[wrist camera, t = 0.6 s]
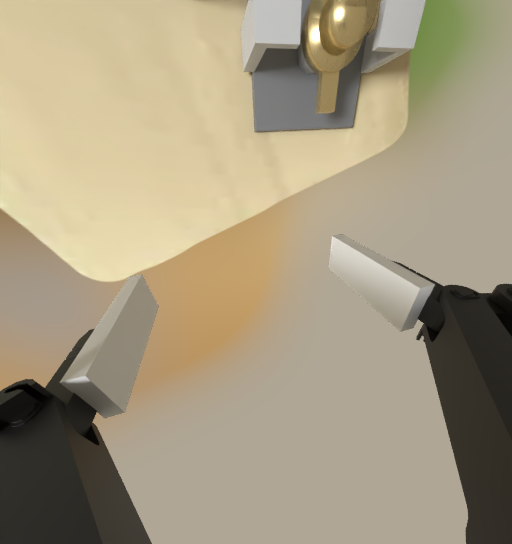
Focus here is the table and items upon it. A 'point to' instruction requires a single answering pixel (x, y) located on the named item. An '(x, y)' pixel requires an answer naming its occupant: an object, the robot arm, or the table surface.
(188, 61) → the table surface
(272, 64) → the base
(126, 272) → the table surface
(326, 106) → the gold ball lever
